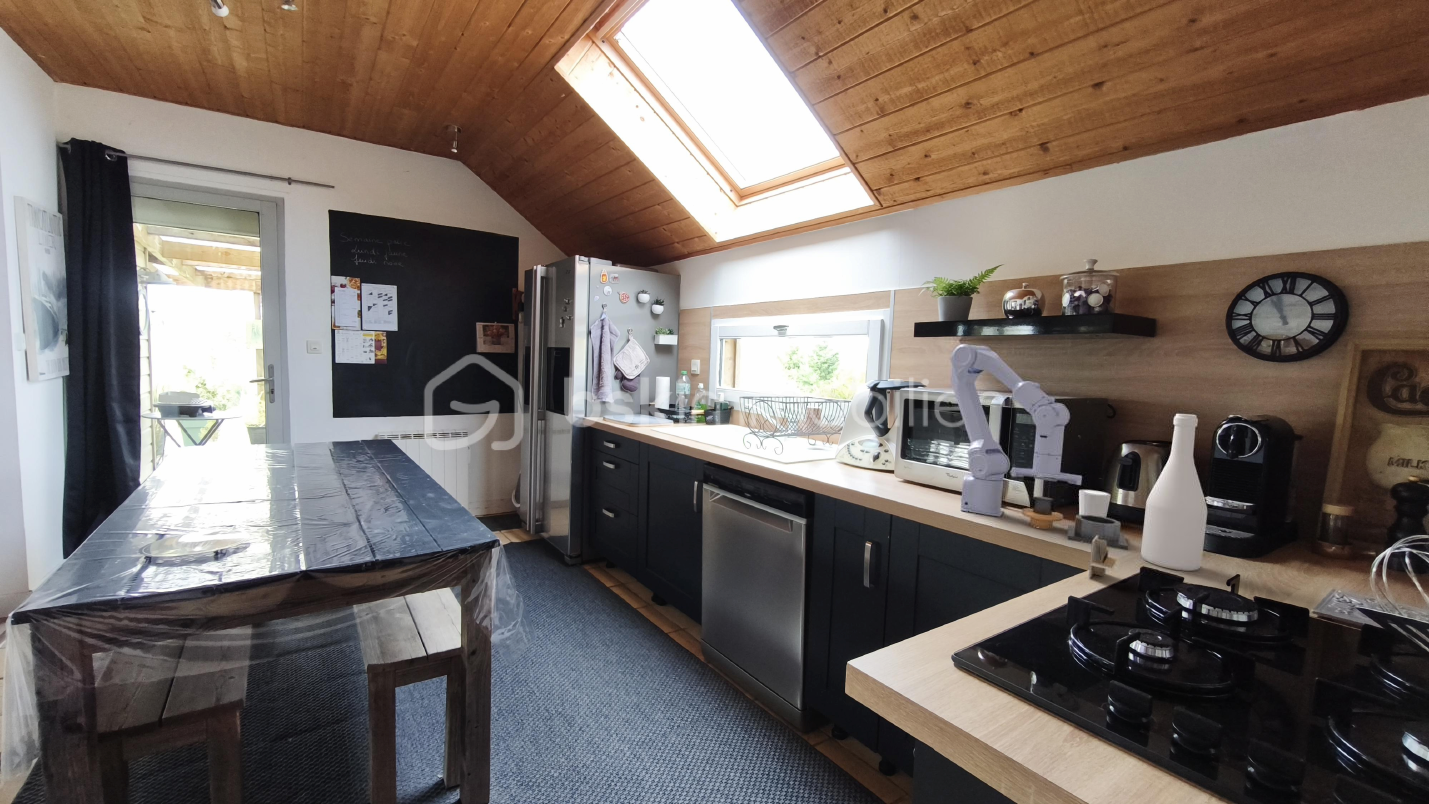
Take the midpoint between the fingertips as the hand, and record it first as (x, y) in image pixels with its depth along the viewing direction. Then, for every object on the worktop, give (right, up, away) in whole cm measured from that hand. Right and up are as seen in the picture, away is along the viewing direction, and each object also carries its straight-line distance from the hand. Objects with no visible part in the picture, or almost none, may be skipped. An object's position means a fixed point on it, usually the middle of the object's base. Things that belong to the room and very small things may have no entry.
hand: (1042, 509), depth 140 cm
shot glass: (+18, -4, +10) cm, 22 cm away
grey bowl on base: (+8, -5, -8) cm, 12 cm away
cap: (0, -4, 0) cm, 4 cm away
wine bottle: (+12, -7, -23) cm, 27 cm away
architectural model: (-8, -7, -33) cm, 35 cm away
